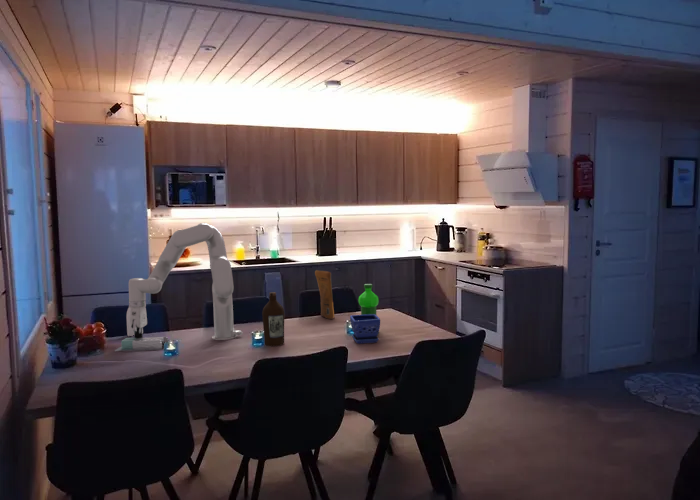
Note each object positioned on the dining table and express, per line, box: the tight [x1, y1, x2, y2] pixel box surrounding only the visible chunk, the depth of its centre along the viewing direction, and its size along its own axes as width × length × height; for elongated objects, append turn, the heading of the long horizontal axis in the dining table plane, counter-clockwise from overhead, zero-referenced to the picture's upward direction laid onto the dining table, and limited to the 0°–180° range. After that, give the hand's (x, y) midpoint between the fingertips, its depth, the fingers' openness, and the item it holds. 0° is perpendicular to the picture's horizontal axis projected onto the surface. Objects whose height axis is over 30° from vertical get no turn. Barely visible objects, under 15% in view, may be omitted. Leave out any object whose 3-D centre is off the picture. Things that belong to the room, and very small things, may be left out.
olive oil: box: [261, 291, 285, 347], centre depth 265 cm, size 11×11×25 cm
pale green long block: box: [120, 336, 169, 350], centre depth 260 cm, size 21×4×5 cm, turn 92°
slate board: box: [114, 338, 182, 352], centre depth 267 cm, size 26×20×1 cm
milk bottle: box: [126, 306, 144, 337], centre depth 292 cm, size 8×8×20 cm
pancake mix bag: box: [314, 269, 335, 320], centre depth 329 cm, size 7×19×28 cm, turn 25°
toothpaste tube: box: [123, 336, 164, 347], centre depth 264 cm, size 19×3×4 cm, turn 92°
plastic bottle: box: [357, 283, 379, 315], centre depth 285 cm, size 10×10×25 cm
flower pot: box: [349, 314, 381, 345], centre depth 266 cm, size 13×13×12 cm
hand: (138, 341), depth 267 cm, fingers closed
